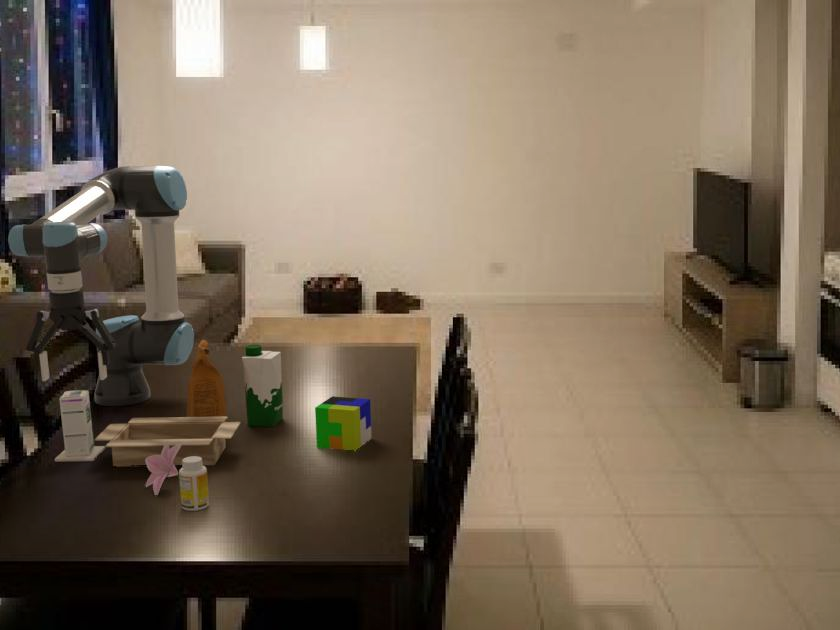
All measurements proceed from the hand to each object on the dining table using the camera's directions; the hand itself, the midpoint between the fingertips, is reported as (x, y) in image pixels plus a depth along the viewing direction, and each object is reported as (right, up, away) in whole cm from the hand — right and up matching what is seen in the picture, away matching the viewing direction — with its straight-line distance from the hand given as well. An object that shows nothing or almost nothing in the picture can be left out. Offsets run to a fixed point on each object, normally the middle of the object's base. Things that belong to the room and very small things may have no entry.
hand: (74, 379), depth 248 cm
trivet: (0, -18, +3) cm, 18 cm away
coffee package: (+27, -14, +22) cm, 37 cm away
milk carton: (+41, -13, +26) cm, 50 cm away
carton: (+22, -18, +1) cm, 29 cm away
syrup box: (0, -18, +3) cm, 18 cm away
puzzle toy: (+62, -16, +8) cm, 65 cm away
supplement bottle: (+35, -24, -31) cm, 52 cm away
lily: (+26, -22, -19) cm, 39 cm away
